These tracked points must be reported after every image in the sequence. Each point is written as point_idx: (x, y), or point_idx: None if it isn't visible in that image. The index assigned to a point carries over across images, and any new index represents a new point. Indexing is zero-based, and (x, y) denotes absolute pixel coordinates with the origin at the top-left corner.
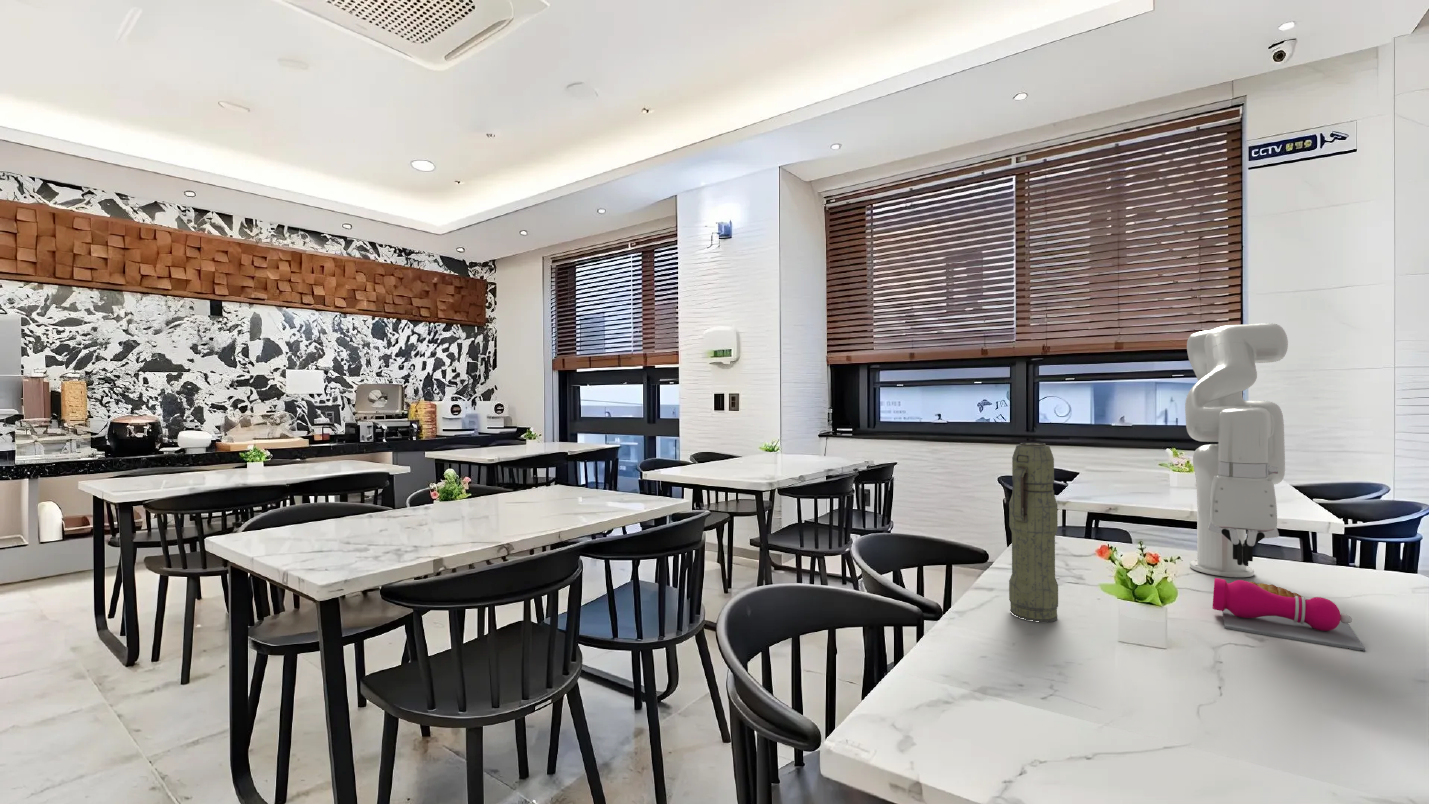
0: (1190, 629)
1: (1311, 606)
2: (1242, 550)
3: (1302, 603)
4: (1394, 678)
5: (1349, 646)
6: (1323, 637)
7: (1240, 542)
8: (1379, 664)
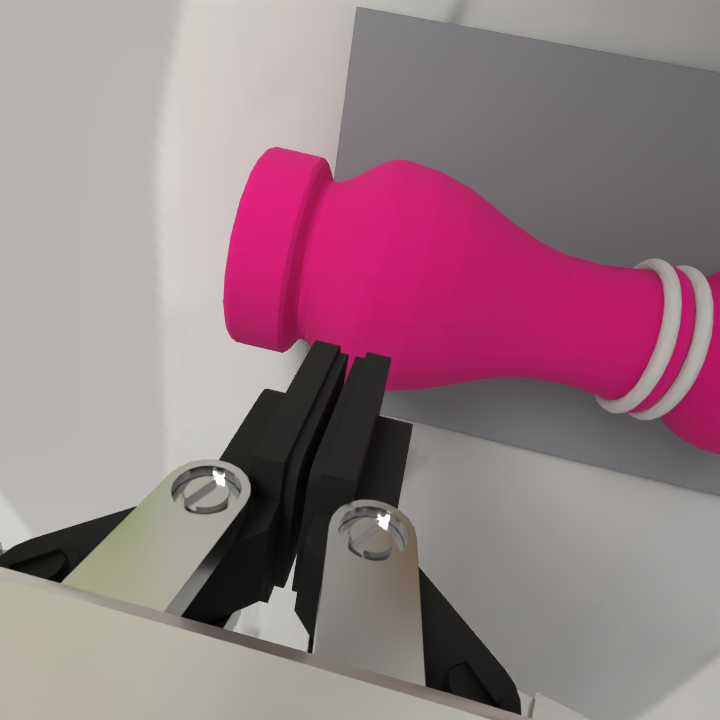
0: (198, 432)
1: (680, 423)
2: (295, 555)
3: (646, 413)
4: (654, 656)
5: (692, 486)
6: (645, 424)
7: (258, 589)
8: (691, 582)
